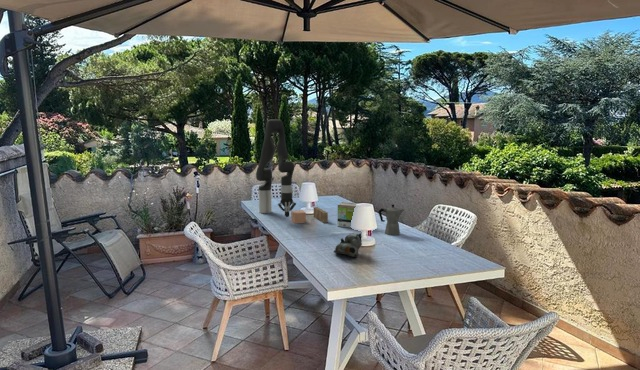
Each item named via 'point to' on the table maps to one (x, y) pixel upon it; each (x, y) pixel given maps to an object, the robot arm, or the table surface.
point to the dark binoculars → (349, 245)
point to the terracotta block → (298, 216)
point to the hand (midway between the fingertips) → (287, 216)
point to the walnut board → (321, 215)
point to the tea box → (345, 214)
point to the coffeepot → (391, 220)
